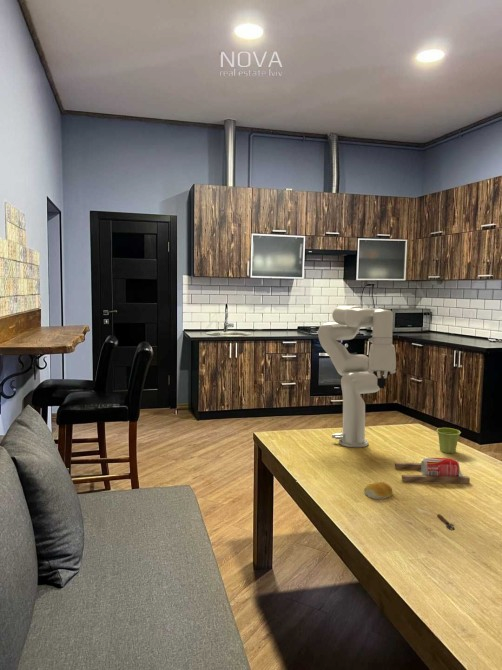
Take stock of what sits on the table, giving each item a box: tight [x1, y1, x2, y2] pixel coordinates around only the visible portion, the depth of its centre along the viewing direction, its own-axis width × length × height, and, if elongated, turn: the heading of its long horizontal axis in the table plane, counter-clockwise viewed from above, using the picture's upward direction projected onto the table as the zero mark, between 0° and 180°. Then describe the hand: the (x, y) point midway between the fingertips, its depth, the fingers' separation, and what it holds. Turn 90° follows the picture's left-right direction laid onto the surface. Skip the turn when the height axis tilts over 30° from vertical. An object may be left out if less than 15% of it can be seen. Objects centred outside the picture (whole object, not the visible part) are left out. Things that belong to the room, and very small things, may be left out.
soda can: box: [420, 457, 461, 476], centre depth 184 cm, size 7×7×12 cm
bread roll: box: [363, 481, 393, 500], centre depth 171 cm, size 8×9×4 cm
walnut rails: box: [394, 462, 471, 485], centre depth 187 cm, size 23×14×2 cm, turn 86°
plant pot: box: [436, 427, 462, 454], centre depth 214 cm, size 9×9×9 cm
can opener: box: [437, 513, 455, 531], centre depth 150 cm, size 9×2×1 cm, turn 2°
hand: (381, 387), depth 201 cm, fingers closed
